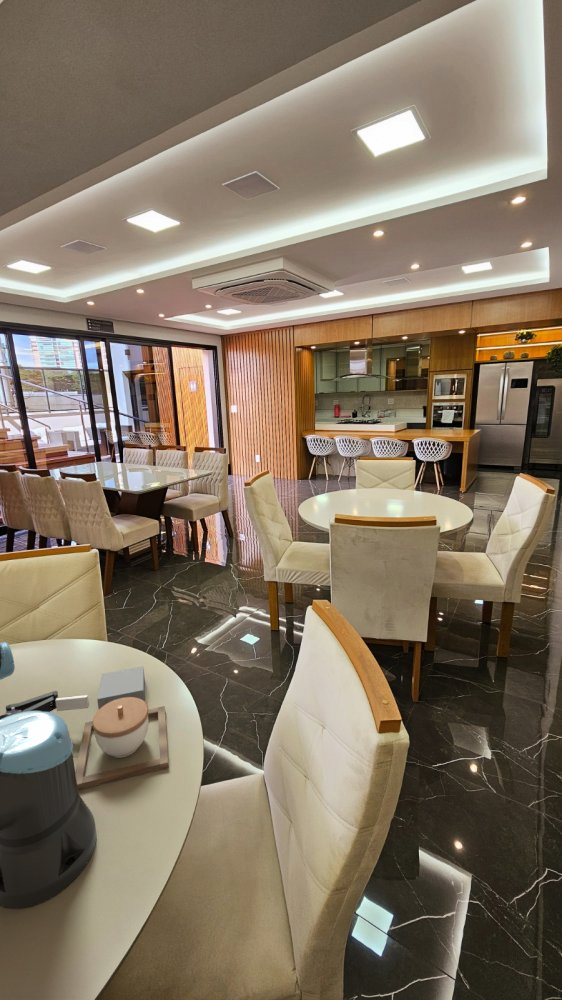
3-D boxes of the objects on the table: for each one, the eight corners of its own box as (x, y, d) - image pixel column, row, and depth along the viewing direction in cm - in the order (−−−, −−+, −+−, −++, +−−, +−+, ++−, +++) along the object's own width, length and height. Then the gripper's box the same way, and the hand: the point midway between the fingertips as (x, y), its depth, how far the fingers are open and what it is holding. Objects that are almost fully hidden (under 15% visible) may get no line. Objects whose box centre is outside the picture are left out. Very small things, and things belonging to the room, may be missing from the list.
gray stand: (144, 704, 103) (143, 690, 102) (99, 714, 100) (97, 699, 99) (144, 680, 112) (143, 666, 111) (103, 688, 109) (101, 673, 109)
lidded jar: (129, 773, 84) (124, 731, 82) (84, 759, 87) (79, 719, 85) (161, 733, 94) (157, 695, 92) (120, 723, 97) (115, 686, 95)
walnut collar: (168, 767, 85) (168, 762, 85) (73, 790, 80) (72, 785, 80) (165, 710, 101) (164, 705, 101) (85, 727, 96) (84, 722, 96)
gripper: (0, 709, 99) (97, 699, 102) (-73, 807, 75) (57, 791, 77) (-6, 679, 97) (93, 670, 100) (-82, 770, 73) (52, 755, 76)
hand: (78, 723), depth 89 cm, fingers open, 13 cm apart
